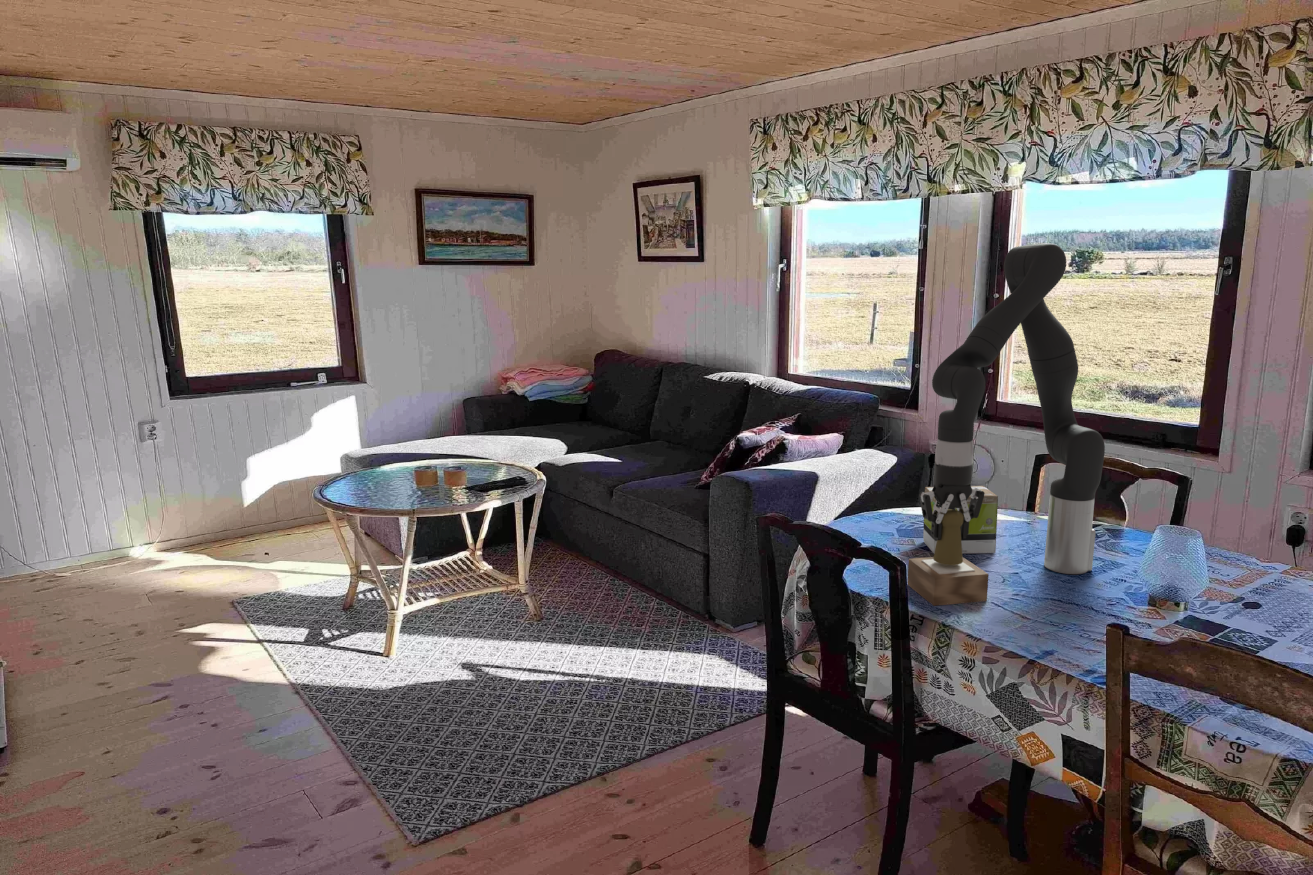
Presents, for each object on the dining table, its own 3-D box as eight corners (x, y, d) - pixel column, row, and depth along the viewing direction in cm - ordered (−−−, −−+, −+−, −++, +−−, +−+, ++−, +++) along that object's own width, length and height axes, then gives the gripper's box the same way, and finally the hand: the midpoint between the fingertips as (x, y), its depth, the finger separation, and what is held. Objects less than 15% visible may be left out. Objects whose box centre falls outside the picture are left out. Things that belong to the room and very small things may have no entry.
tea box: (981, 541, 221) (985, 484, 218) (995, 554, 211) (1000, 495, 208) (921, 541, 221) (924, 485, 218) (933, 555, 212) (936, 496, 208)
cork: (964, 565, 183) (968, 515, 181) (934, 564, 185) (937, 513, 182) (960, 556, 189) (964, 507, 187) (931, 554, 190) (934, 505, 188)
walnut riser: (957, 580, 195) (959, 553, 194) (986, 601, 184) (988, 572, 182) (907, 584, 193) (908, 557, 192) (933, 605, 182) (935, 577, 180)
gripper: (976, 454, 187) (971, 530, 191) (913, 458, 185) (909, 535, 188) (995, 462, 180) (990, 541, 183) (930, 466, 178) (926, 546, 181)
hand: (949, 537), depth 186 cm, fingers closed on cork, 5 cm apart
